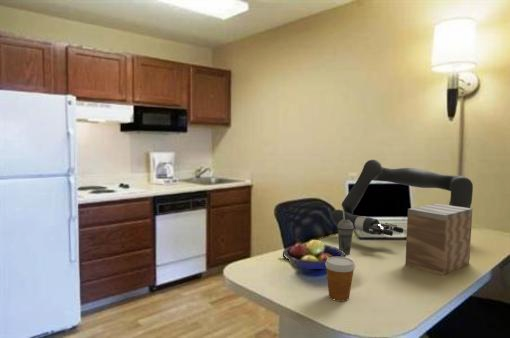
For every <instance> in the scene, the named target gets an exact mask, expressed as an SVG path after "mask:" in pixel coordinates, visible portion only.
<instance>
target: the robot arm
mask: <svg viewBox="0 0 510 338" xmlns="http://www.w3.org/2000/svg"><path fill="white" fill-rule="evenodd" d="M372 181H375V182H377V181H378V182H388V183H392V184H393V183H394V184H398V185H404V186H409V187H413V188H414V187H415V188H420V189H421V188H422V189H440V190H445V191H449V192H450V199H449V202H448V205H451V206H458V207H465V208H471V207H472V206H471V205H472V201H473V192H474V191H473V190H474V187H473V182H472V181H471V179H470V178H468V177H466V176H463V175H457V174H456V175H453V174H452V175H451V174H441V173H437V172H434V171H429V170H425V169H419V168H413V167H401V168H388V167H383V166H382V164H381V163H380V161H379V160H377V159H369V160H367V161H366V162H365V163H364V165H363V168H362V170H361V171H360V174H359V176H358V178H357V180H356V181H355V183H354V184H353V186H352V187H351V188H350V190H349V192H348V193H347V194H346V196H345V198H344V199H343V201H342V202H341V207H342V209H335V210H333V211H331V213H330V217H329V218H330V220H331V221H332V223H334V224H335V225H336V227H337V226H338V223H339V222H340V221H341V220H342V219H343V209H344V216H345V219H348V220H350V221H351V222H352V223H353V226H354V230H355V231H359V232H361V233H365V234H369V235H378V236H380V235H382V236H384V235H387V236H391V237H392V236H394V232H395V233H400V234H402V233H403V234H404V227H399V226H398V225H397V224H392V223H387V222H385V223H382V222H381V223H380V221H379V220H378V219H377V218H373V217H369V216H365V215H364V216H363V215H362V216H361V215H357V214H354V210H355V209H356V208H357V207H358V204H359V203H360V202H361V200H362V198H363V197H364V195H365V192H366V190H367V188H368V187H369V185H370V184H371V183H372Z"/></svg>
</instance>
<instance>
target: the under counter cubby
mask: <svg viewBox="0 0 510 338" xmlns="http://www.w3.org/2000/svg"><path fill="white" fill-rule="evenodd" d="M472 222H473V208H471V207H470V208H465V207H458V206H451V205H449V204H444V203H437V202H436V203H431V204H427V205H421V206H417V207H412V208H407V220H406V225H407V226H406V240H405V241H406V243H405V265H406V266H408V267H412V268H416V269H418V270H422V271H426V272H428V273H432V274H436V275H440V276H445V275H447V274H449V273H452V272H454V271H456V270H458V269H460V268H462V267H465V266H467V265H469V264H470V258H471V257H470V256H471V255H470V254H471V242H472V241H471V240H472V239H471V238H472Z"/></svg>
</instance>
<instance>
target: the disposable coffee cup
mask: <svg viewBox="0 0 510 338" xmlns="http://www.w3.org/2000/svg"><path fill="white" fill-rule="evenodd" d="M326 259H327V260H326V262H325V266H326V267H325V268H326V276H327V277H326V278H327V279H326V280H327V288H328V297H329V296H330V297H329V299H331V298H332V299H331V300H333V299H335V300H334V301H336V300H341V301H340V302H343V301H342V300H346V301H348V300H349V299H350V295H351V294H350V293H351V289H352V281H353V275H354V270H355V269H356V264H355V261H354V260H353V259H351V258H349V257H344V256H331V257H327V258H326ZM347 299H348V300H347Z"/></svg>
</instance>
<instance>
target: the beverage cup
mask: <svg viewBox="0 0 510 338" xmlns="http://www.w3.org/2000/svg"><path fill="white" fill-rule="evenodd" d="M342 211H343V219H342V220H341V221H340V222H339V223H338V226H337V225H336V229H337V235H338V251H339V250H341V251H343V252H344V253H345V255H344V256H350V255H351V249H352V242H353V241H352V240H353V233H354V230H355V229H354V226H353V223H352V222H351V221H350V220H348V219H345V216H344V209H343V208H342Z"/></svg>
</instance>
